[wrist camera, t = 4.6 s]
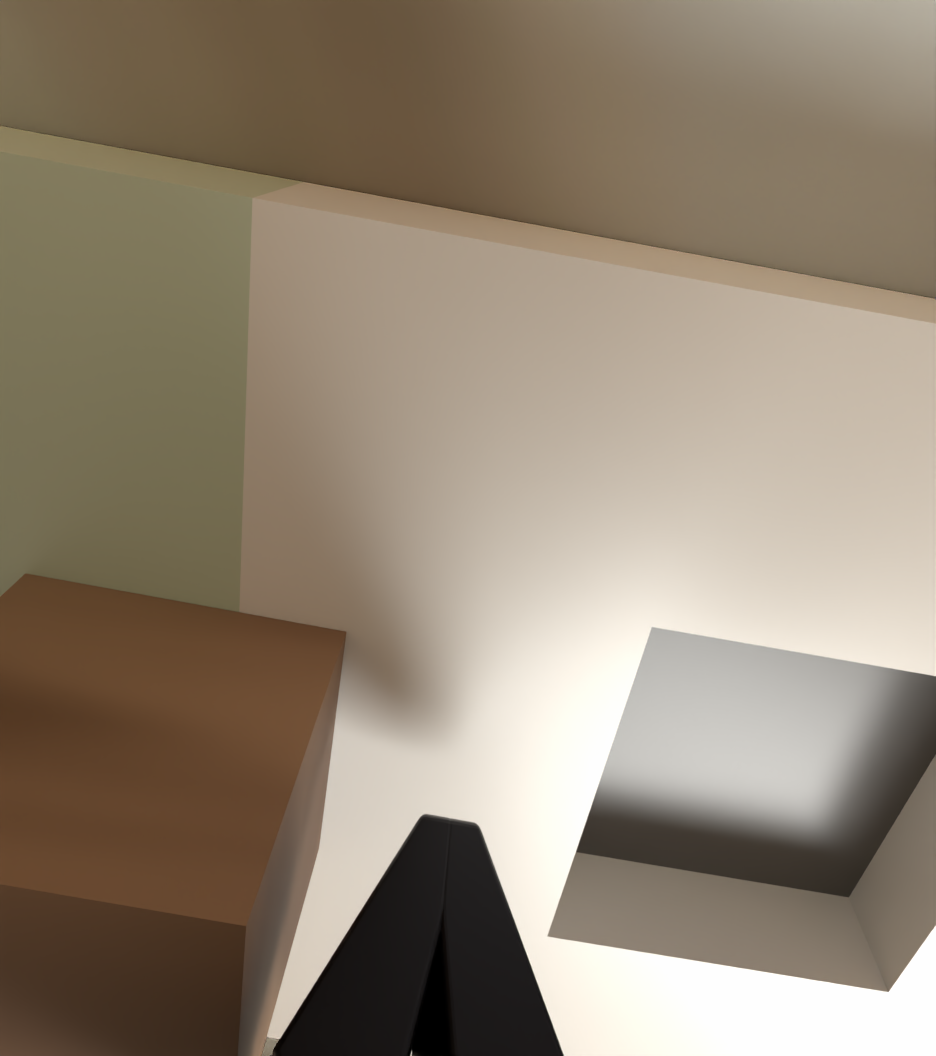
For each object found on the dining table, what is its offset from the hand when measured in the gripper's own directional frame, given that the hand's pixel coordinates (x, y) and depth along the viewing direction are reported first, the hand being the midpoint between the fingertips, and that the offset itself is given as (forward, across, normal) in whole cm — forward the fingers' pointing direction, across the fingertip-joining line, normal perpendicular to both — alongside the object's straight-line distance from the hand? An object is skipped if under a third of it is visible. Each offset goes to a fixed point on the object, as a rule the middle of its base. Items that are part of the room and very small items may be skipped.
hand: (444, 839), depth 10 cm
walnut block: (+1, +4, 0) cm, 4 cm away
